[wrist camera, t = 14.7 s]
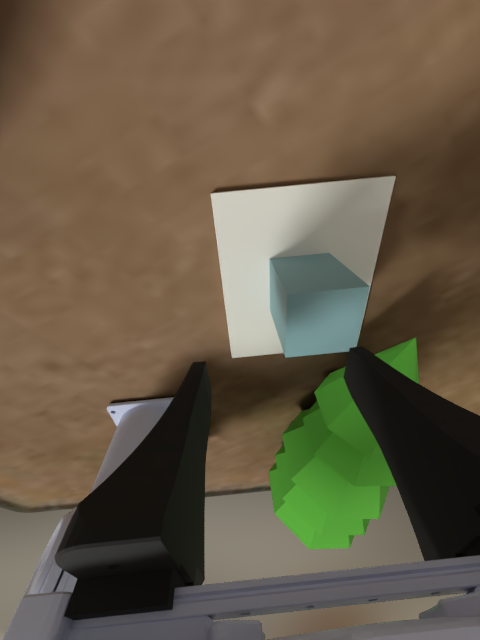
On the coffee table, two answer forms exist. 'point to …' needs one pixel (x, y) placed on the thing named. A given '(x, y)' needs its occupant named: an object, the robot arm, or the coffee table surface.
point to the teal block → (316, 304)
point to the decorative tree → (334, 463)
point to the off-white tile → (291, 244)
